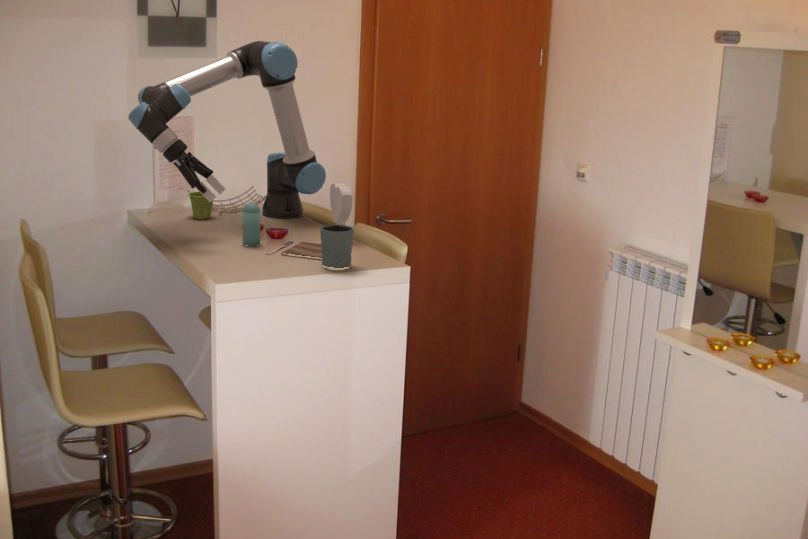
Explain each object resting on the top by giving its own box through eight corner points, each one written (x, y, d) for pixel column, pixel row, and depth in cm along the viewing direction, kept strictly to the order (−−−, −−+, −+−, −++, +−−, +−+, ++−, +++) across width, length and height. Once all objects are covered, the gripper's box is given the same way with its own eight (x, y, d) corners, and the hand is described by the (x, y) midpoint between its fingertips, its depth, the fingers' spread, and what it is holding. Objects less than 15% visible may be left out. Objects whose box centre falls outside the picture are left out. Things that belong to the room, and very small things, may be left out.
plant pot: (212, 221, 329) (212, 197, 327) (185, 219, 329) (185, 195, 327) (217, 215, 338) (217, 192, 336) (192, 214, 338) (191, 190, 336)
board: (301, 244, 303) (301, 241, 302) (341, 248, 299) (341, 246, 299) (281, 255, 288) (281, 252, 287) (323, 260, 284) (323, 257, 284)
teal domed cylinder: (247, 241, 302) (247, 200, 298) (263, 243, 301) (263, 202, 297) (239, 245, 297) (239, 203, 293) (255, 247, 296) (255, 205, 292)
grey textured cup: (325, 272, 271) (326, 232, 268) (314, 263, 280) (315, 224, 277) (357, 270, 275) (359, 230, 272) (346, 261, 284) (347, 223, 281)
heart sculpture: (353, 243, 307) (354, 189, 302) (338, 243, 306) (339, 189, 301) (340, 232, 321) (342, 181, 316) (326, 232, 320) (328, 181, 315)
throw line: (289, 241, 305) (289, 240, 305) (293, 242, 304) (293, 241, 304) (265, 254, 288) (265, 253, 288) (270, 254, 288) (270, 253, 288)
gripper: (173, 148, 304) (218, 196, 308) (150, 159, 280) (200, 211, 284) (188, 133, 302) (234, 181, 306) (167, 143, 278) (217, 195, 282)
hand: (218, 195), depth 295 cm, fingers open, 13 cm apart
